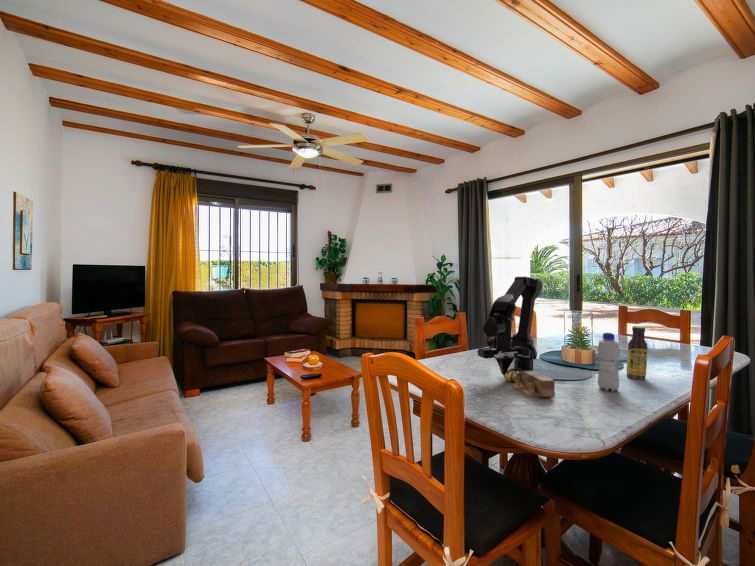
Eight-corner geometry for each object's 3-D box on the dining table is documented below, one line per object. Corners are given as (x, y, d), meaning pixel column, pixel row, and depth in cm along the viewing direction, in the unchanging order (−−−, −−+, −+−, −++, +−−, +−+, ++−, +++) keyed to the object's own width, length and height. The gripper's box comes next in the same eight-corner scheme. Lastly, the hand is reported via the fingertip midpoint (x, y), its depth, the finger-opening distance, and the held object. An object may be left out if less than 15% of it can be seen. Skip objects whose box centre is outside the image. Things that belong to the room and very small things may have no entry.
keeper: (518, 377, 144) (518, 367, 144) (530, 383, 137) (530, 373, 137) (507, 378, 143) (507, 368, 143) (518, 384, 136) (518, 374, 136)
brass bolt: (517, 378, 143) (517, 366, 142) (524, 382, 138) (524, 369, 138) (503, 379, 141) (503, 367, 141) (509, 383, 137) (509, 371, 137)
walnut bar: (554, 395, 120) (554, 380, 120) (543, 396, 119) (543, 381, 119) (532, 384, 132) (532, 370, 132) (522, 385, 131) (522, 371, 131)
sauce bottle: (628, 379, 140) (629, 327, 139) (624, 375, 146) (625, 325, 145) (649, 381, 138) (650, 328, 137) (644, 376, 143) (645, 326, 143)
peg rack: (513, 386, 133) (513, 375, 133) (533, 385, 135) (533, 373, 134) (533, 397, 121) (533, 385, 121) (554, 396, 123) (555, 383, 123)
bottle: (595, 389, 129) (595, 333, 128) (599, 385, 134) (600, 330, 133) (617, 393, 124) (618, 335, 124) (621, 389, 129) (622, 332, 128)
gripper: (514, 329, 148) (514, 367, 148) (471, 331, 144) (471, 370, 145) (530, 333, 137) (530, 375, 138) (484, 335, 134) (484, 378, 134)
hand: (503, 374), depth 139 cm, fingers closed
